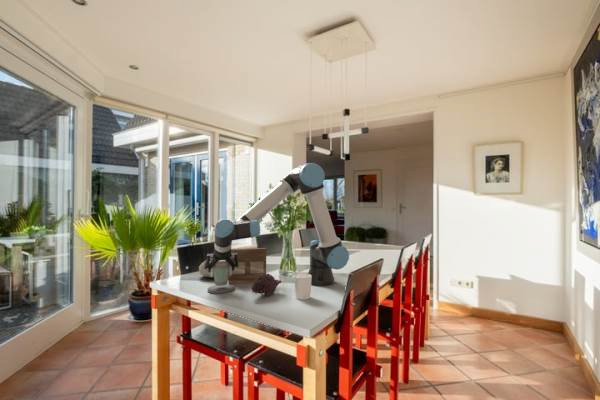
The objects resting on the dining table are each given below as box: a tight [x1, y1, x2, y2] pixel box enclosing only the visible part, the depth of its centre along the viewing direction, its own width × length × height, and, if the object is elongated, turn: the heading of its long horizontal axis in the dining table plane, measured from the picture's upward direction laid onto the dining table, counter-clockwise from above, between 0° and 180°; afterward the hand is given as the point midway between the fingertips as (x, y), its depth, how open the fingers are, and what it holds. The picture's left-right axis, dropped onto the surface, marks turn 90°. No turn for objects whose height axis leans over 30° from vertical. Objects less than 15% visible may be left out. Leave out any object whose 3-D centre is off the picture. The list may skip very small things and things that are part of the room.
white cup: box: [294, 273, 312, 301], centre depth 136 cm, size 8×8×10 cm
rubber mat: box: [207, 283, 236, 295], centre depth 147 cm, size 13×13×1 cm
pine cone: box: [250, 273, 282, 296], centre depth 139 cm, size 18×10×10 cm, turn 140°
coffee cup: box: [213, 260, 230, 286], centre depth 147 cm, size 9×8×12 cm
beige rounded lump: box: [198, 257, 214, 279], centre depth 173 cm, size 18×18×10 cm
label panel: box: [227, 247, 267, 285], centre depth 162 cm, size 6×20×18 cm, turn 102°
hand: (221, 274), depth 150 cm, fingers closed on coffee cup, 8 cm apart
